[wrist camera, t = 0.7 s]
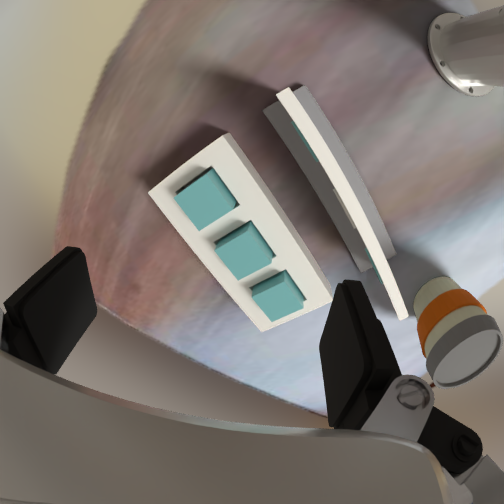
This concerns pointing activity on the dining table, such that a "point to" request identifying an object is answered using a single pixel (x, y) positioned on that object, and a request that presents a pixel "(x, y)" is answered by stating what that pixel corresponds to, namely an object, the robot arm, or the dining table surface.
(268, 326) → the button board
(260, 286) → the button
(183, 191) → the button
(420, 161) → the dining table surface
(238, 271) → the button
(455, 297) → the reusable coffee cup
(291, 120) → the pattern sign
